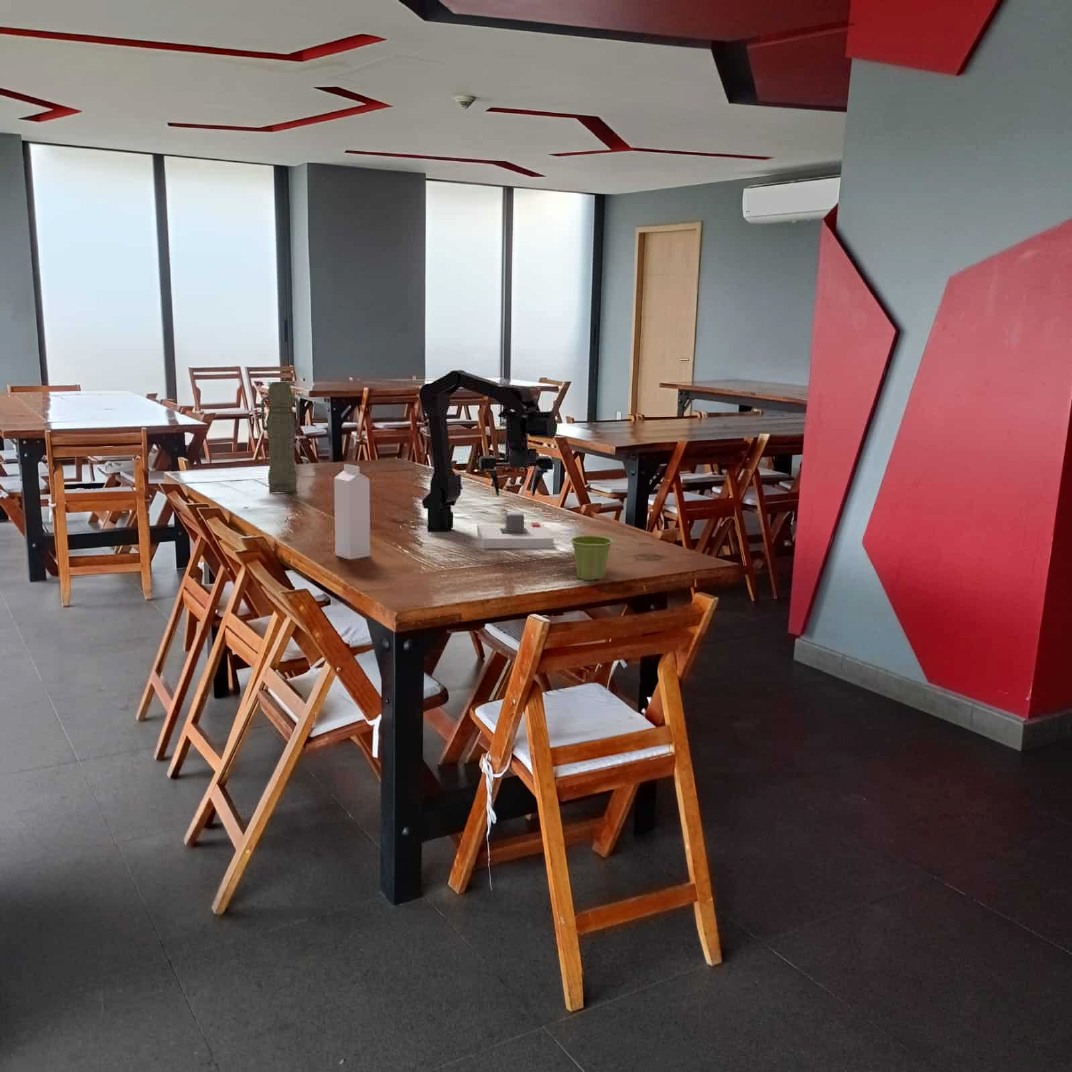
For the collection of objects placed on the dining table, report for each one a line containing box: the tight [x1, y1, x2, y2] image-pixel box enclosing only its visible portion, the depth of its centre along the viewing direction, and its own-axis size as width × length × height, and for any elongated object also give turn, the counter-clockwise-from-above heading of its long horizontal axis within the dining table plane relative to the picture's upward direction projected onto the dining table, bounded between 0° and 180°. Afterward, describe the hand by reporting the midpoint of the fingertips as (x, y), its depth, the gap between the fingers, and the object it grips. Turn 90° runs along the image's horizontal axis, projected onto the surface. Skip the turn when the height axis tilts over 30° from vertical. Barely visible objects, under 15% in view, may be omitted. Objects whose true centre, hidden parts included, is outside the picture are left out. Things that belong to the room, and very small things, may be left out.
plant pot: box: [570, 535, 613, 581], centre depth 224 cm, size 9×9×9 cm
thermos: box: [260, 381, 301, 493], centre depth 318 cm, size 9×12×35 cm
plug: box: [504, 511, 525, 534], centre depth 259 cm, size 4×4×7 cm
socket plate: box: [476, 522, 554, 549], centre depth 259 cm, size 18×18×3 cm
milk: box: [333, 463, 371, 560], centre depth 236 cm, size 6×6×22 cm
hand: (515, 495), depth 257 cm, fingers open, 9 cm apart
